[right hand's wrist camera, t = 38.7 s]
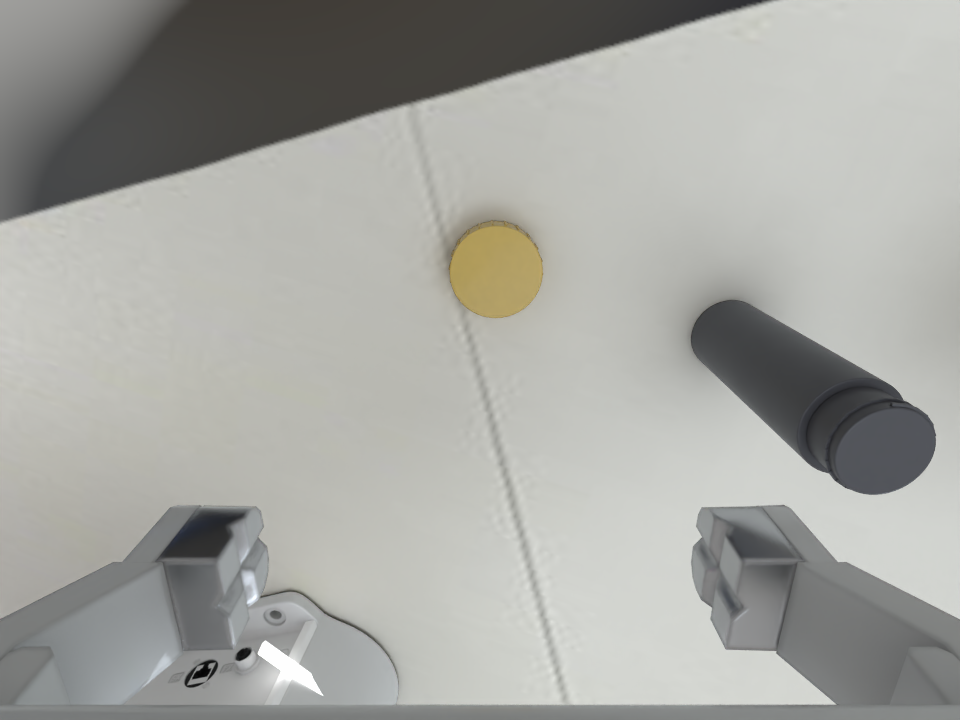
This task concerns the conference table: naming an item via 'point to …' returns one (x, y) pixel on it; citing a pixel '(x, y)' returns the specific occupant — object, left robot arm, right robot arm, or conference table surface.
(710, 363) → the jar
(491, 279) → the lid
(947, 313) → the conference table surface
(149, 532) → the right robot arm
